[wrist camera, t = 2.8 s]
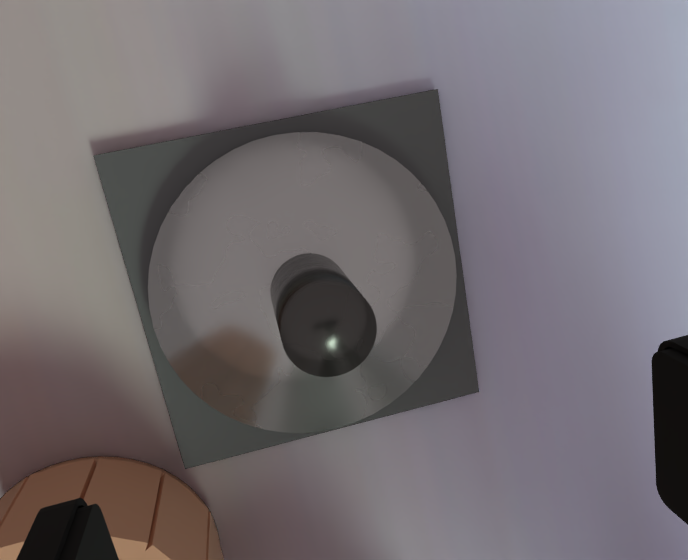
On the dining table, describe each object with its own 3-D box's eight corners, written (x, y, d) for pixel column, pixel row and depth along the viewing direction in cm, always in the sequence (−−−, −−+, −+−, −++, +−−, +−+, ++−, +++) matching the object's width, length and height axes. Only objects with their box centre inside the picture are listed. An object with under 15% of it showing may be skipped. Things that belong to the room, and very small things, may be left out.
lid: (426, 104, 24) (486, 95, 18) (467, 383, 27) (530, 449, 21) (111, 167, 22) (72, 179, 17) (195, 456, 25) (185, 547, 20)
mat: (434, 89, 24) (437, 89, 24) (475, 388, 27) (478, 391, 27) (95, 155, 22) (93, 155, 22) (185, 464, 26) (185, 468, 25)
